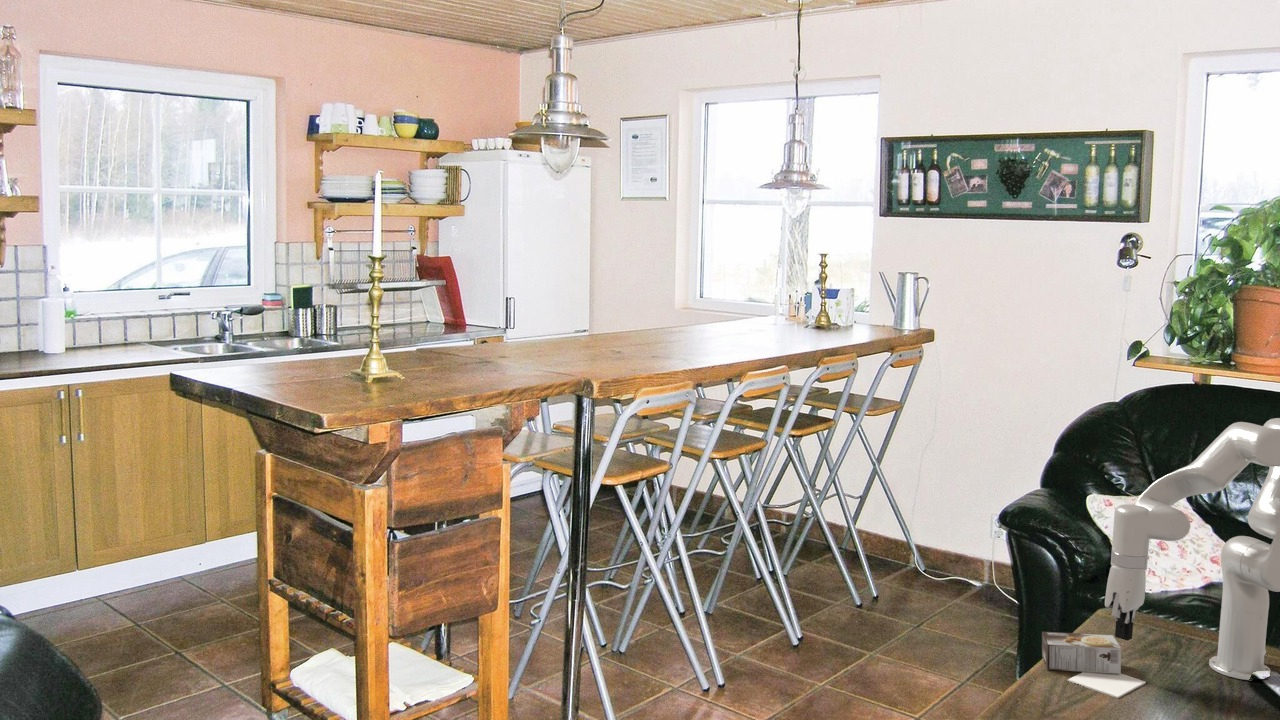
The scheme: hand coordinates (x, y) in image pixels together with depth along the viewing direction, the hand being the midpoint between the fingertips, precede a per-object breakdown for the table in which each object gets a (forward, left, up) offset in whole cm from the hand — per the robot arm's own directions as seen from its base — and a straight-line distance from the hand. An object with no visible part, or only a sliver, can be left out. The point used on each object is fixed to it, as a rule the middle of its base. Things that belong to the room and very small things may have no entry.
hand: (1123, 638), depth 249 cm
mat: (+6, 0, -9) cm, 11 cm away
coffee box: (-3, -2, -5) cm, 7 cm away
